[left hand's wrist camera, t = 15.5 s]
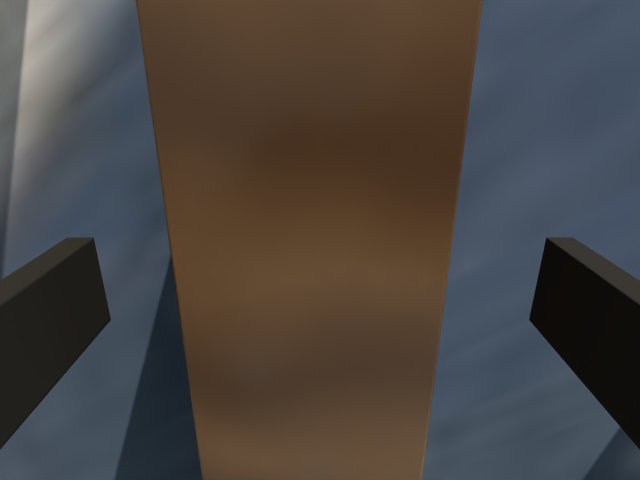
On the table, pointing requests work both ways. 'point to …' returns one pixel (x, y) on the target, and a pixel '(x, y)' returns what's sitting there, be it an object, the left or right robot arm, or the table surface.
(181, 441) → the table surface
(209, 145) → the board
